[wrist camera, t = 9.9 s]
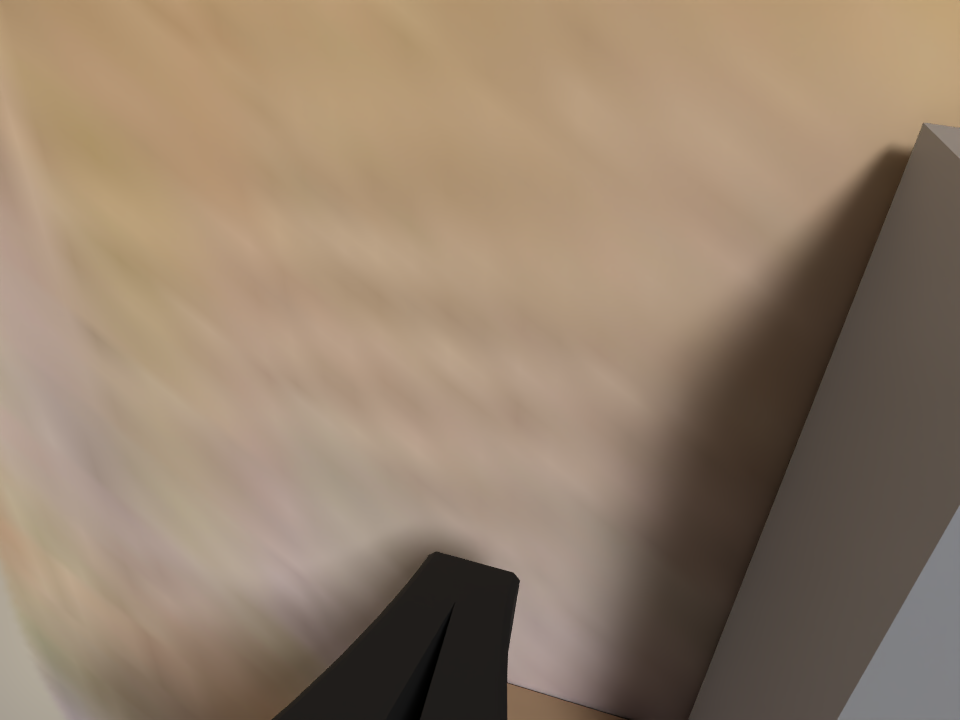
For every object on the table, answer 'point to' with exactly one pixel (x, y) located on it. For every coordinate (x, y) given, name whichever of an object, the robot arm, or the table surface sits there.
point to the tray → (867, 497)
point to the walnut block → (547, 707)
